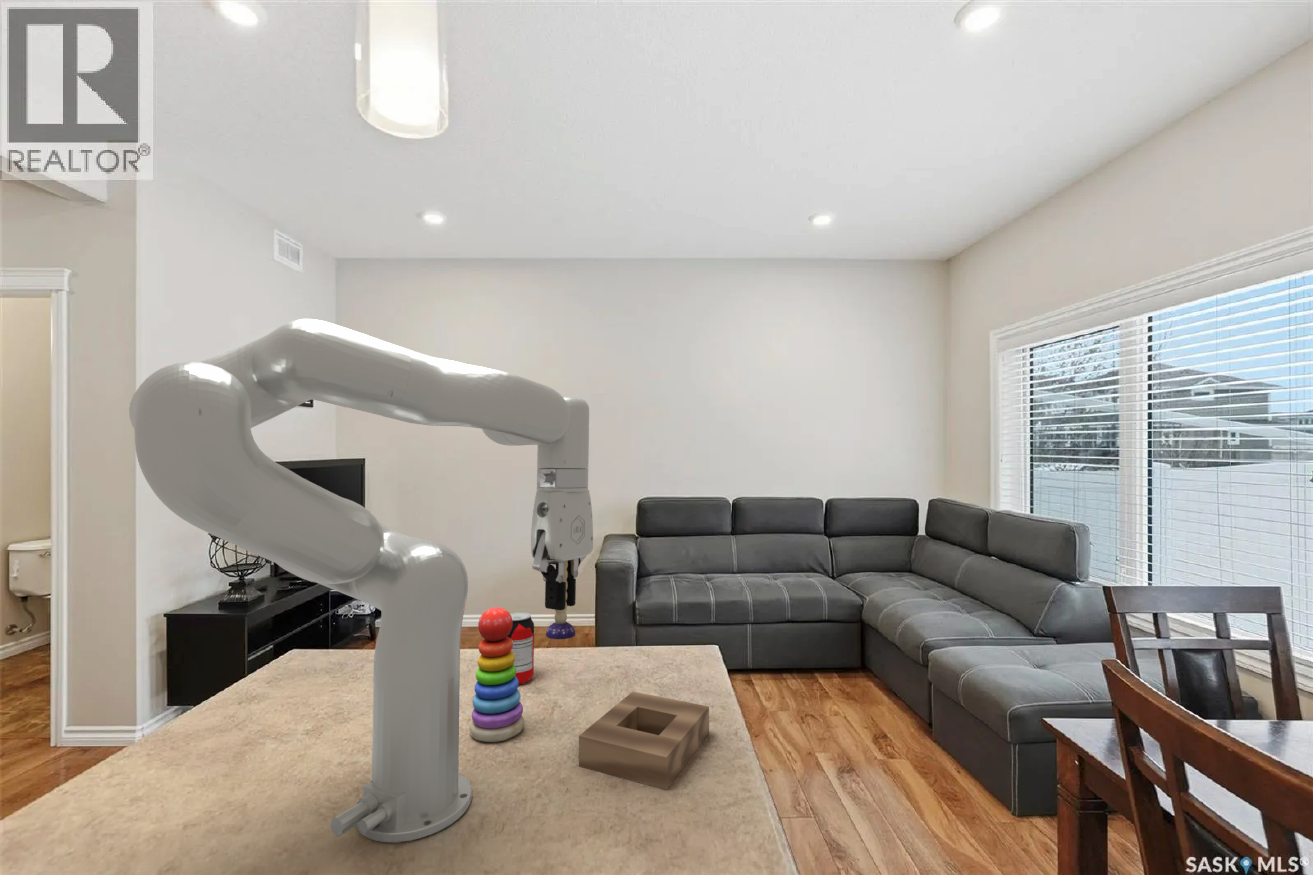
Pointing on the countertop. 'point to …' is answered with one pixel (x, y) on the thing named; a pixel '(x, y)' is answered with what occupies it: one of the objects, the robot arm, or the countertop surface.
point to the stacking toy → (496, 681)
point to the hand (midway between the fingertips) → (560, 606)
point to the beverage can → (523, 645)
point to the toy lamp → (561, 618)
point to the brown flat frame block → (645, 739)
